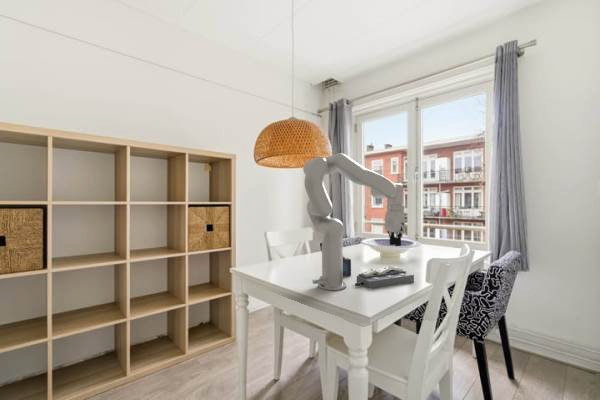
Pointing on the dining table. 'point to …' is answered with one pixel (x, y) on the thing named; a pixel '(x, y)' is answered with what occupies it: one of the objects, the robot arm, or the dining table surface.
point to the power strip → (384, 279)
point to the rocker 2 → (382, 270)
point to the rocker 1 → (369, 272)
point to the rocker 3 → (395, 268)
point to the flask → (346, 267)
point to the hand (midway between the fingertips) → (395, 244)
